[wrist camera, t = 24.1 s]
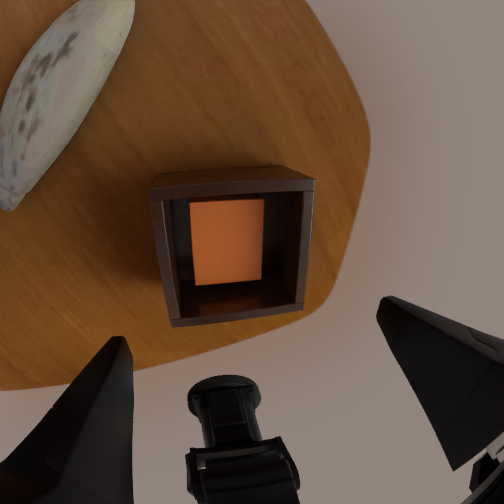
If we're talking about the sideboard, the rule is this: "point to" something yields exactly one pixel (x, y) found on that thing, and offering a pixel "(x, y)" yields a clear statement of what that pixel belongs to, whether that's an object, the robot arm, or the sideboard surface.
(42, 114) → the decorative stone
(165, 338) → the sideboard surface
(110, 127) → the sideboard surface
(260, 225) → the orange block
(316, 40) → the sideboard surface
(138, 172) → the sideboard surface
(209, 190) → the holder
